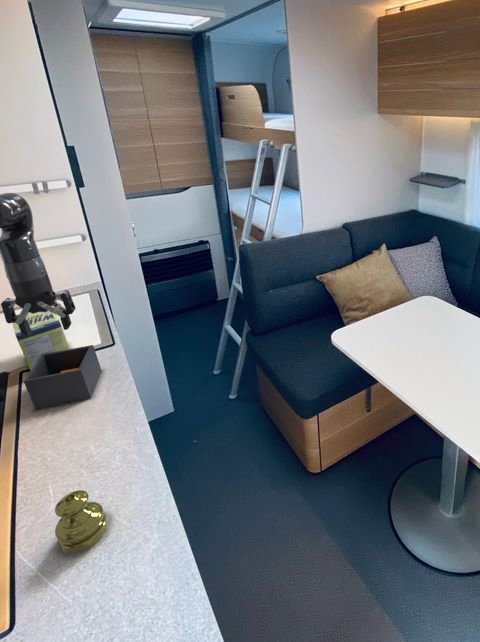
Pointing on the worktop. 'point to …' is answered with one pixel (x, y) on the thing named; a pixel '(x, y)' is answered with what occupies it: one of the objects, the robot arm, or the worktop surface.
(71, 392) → the trash bin
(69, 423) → the worktop surface
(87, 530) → the olive gold metallic knob
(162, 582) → the worktop surface
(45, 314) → the protein box
